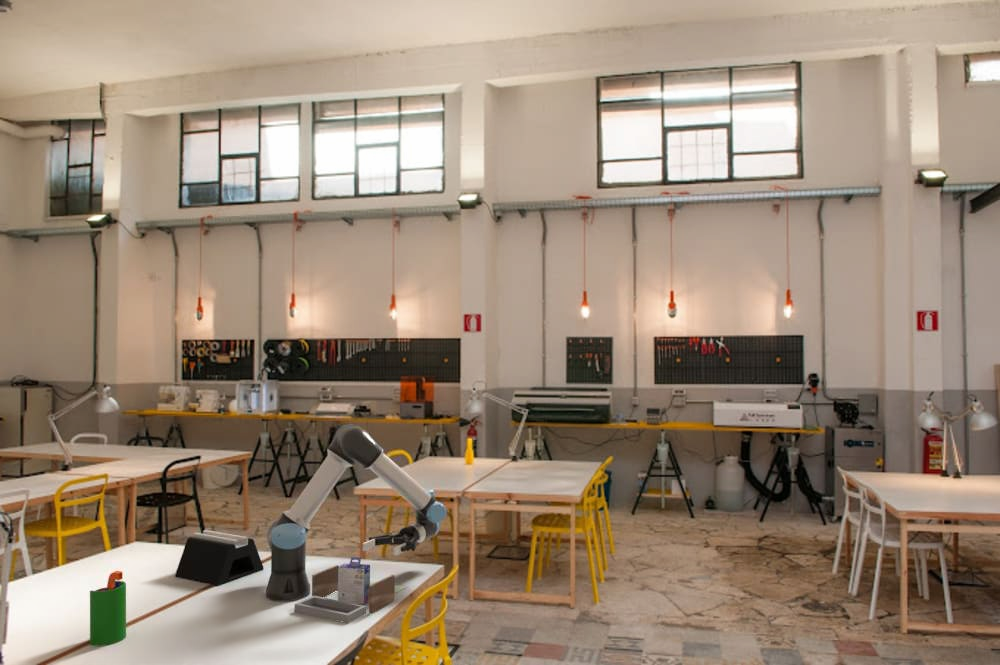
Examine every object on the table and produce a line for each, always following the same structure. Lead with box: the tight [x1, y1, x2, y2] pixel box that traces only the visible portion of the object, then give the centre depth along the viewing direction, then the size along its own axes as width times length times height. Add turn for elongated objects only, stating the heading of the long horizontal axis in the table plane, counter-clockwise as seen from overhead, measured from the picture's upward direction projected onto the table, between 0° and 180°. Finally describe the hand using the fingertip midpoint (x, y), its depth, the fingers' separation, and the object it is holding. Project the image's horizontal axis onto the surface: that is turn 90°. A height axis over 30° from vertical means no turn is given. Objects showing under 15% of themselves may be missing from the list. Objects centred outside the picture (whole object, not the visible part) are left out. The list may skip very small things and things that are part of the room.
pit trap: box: [294, 595, 367, 624], centre depth 244 cm, size 22×9×2 cm, turn 63°
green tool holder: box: [89, 570, 127, 647], centre depth 222 cm, size 10×9×20 cm
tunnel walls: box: [311, 564, 396, 615], centre depth 255 cm, size 25×13×9 cm, turn 63°
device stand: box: [174, 529, 264, 587], centre depth 286 cm, size 22×22×15 cm
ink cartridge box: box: [337, 557, 371, 605], centre depth 255 cm, size 10×6×14 cm, turn 78°
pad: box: [370, 580, 407, 595], centre depth 268 cm, size 16×12×1 cm
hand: (378, 549), depth 267 cm, fingers open, 13 cm apart
